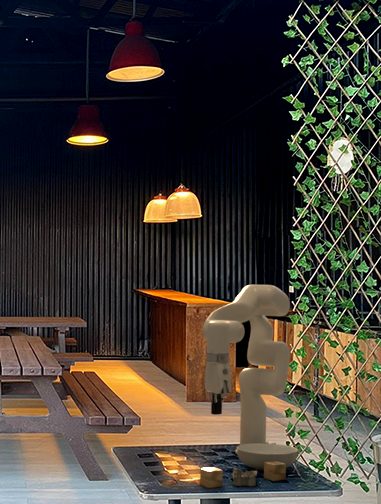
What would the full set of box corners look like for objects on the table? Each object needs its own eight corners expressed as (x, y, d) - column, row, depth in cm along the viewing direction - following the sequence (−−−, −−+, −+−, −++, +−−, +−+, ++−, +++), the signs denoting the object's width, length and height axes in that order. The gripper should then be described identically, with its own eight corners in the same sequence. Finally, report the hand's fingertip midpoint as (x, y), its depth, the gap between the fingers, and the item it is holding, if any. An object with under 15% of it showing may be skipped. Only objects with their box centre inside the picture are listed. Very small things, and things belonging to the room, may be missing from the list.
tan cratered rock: (233, 478, 271) (233, 465, 271) (257, 480, 270) (257, 466, 270) (231, 486, 260) (231, 472, 261) (255, 487, 259) (256, 473, 260)
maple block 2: (276, 476, 276) (276, 460, 276) (285, 479, 271) (285, 463, 272) (263, 477, 273) (264, 462, 273) (272, 481, 269) (273, 465, 269)
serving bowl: (307, 467, 292) (307, 447, 292) (282, 478, 274) (282, 456, 274) (253, 460, 302) (253, 440, 302) (225, 469, 284) (225, 448, 284)
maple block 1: (213, 483, 264) (214, 466, 264) (222, 486, 259) (222, 470, 259) (200, 484, 261) (200, 468, 261) (208, 488, 257) (208, 471, 257)
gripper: (239, 360, 278) (238, 416, 277) (215, 356, 291) (214, 410, 290) (220, 360, 274) (219, 418, 273) (196, 357, 287) (195, 411, 286)
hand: (216, 414), depth 282 cm, fingers closed
